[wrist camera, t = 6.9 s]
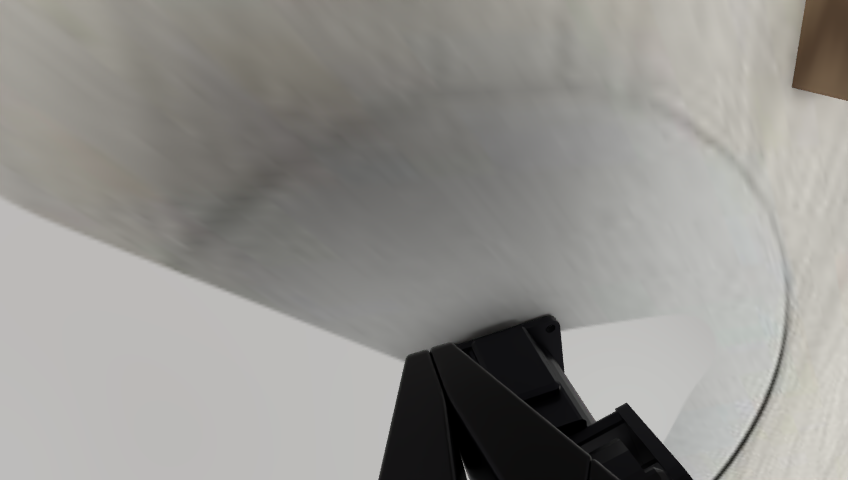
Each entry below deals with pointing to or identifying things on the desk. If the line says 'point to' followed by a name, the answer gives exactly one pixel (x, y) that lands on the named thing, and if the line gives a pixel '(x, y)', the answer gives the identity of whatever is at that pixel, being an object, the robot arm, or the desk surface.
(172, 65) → the desk surface
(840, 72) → the brown wooden block
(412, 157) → the desk surface
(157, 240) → the desk surface
